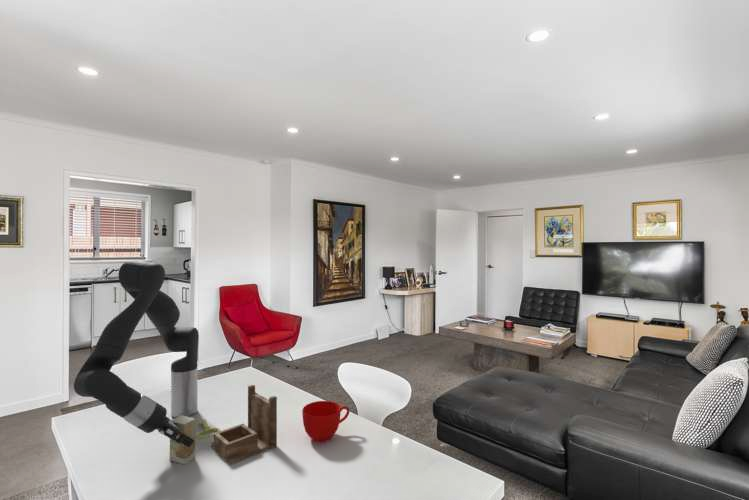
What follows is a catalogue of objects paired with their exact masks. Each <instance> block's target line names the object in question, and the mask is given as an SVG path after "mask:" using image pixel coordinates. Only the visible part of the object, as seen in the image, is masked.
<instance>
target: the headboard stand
mask: <svg viewBox="0 0 749 500" xmlns="http://www.w3.org/2000/svg"><path fill="white" fill-rule="evenodd" d="M277 401H278V396H276V395H274V396H272V395H271V396H270V397H268V398H266V397H265V396H263V395H261V394H259V393H258V392H256V385H254V384H250V385H248V386H247V425H246V424H245V423H240V424H238V425H235V426H232V427H229V428H226V429H224V430H220V432H217V431H216V432H217V433H216V432H214V433H213V434H214V436H213V442H211V443H210V447H211V448H212V450H214V451H215V452H216V453H217V454H218V455H219V456H220V457H222V458H223V459H224V460H225V461H226V462H227V463H228V464H229V465H233V464H236V463H238V462H241V461H243V460H246V459H248V458H251V457H253V456H256V455H257V454H261V453H263V452H265V451H268V450H270V449H272V448H275V447H278V445H277V444H278V441H277V440H278V431H277V430H278V428H277V427H278V426H277V425H278V422H277V421H278V417H277V415H278V411H277V409H278V406H277V405H278V403H277Z"/></svg>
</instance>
